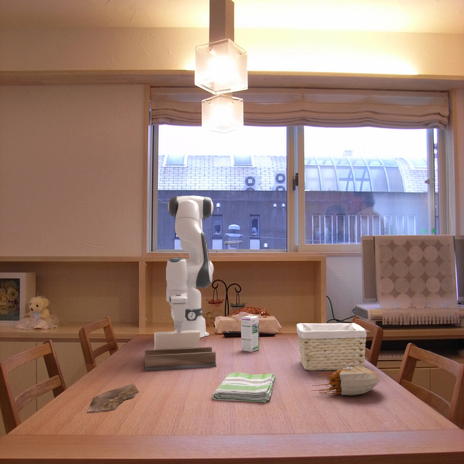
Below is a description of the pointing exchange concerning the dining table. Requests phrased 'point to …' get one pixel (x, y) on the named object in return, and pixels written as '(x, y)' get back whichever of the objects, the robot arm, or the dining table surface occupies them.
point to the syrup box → (250, 333)
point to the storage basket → (331, 345)
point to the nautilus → (350, 381)
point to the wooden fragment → (112, 399)
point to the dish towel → (245, 387)
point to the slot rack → (179, 358)
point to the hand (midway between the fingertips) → (177, 330)
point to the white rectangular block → (176, 339)
